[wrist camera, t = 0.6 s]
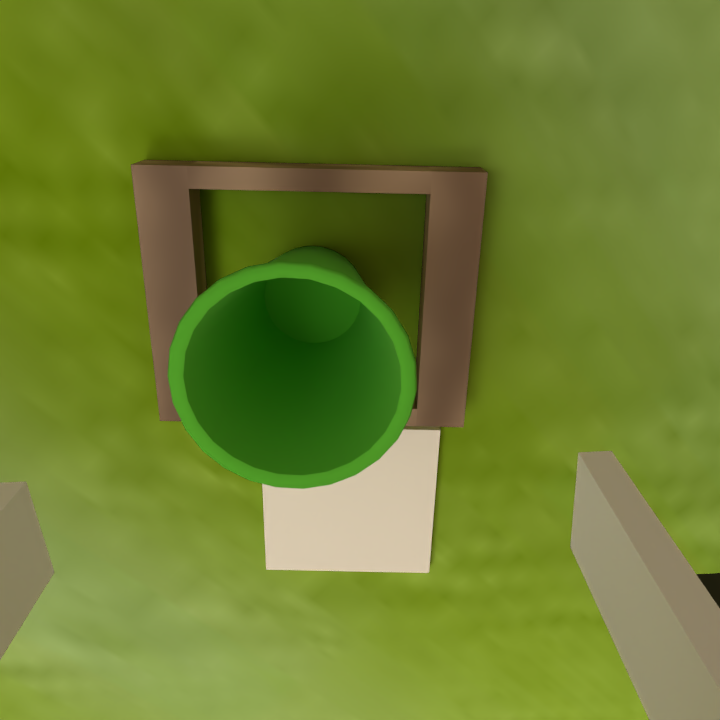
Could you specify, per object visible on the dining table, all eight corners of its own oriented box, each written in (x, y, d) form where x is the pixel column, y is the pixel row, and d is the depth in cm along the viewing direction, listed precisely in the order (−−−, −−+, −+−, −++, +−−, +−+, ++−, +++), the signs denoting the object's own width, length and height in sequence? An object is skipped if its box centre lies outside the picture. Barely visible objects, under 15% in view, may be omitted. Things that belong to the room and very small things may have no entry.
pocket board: (170, 403, 36) (160, 420, 34) (144, 159, 31) (130, 164, 29) (458, 409, 36) (463, 427, 34) (480, 167, 31) (487, 172, 29)
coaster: (267, 562, 40) (266, 569, 40) (261, 421, 36) (259, 426, 36) (428, 566, 40) (429, 572, 40) (439, 425, 36) (440, 430, 36)
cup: (435, 308, 34) (467, 405, 24) (302, 403, 36) (278, 529, 26) (326, 166, 31) (308, 207, 21) (189, 279, 33) (113, 366, 23)
